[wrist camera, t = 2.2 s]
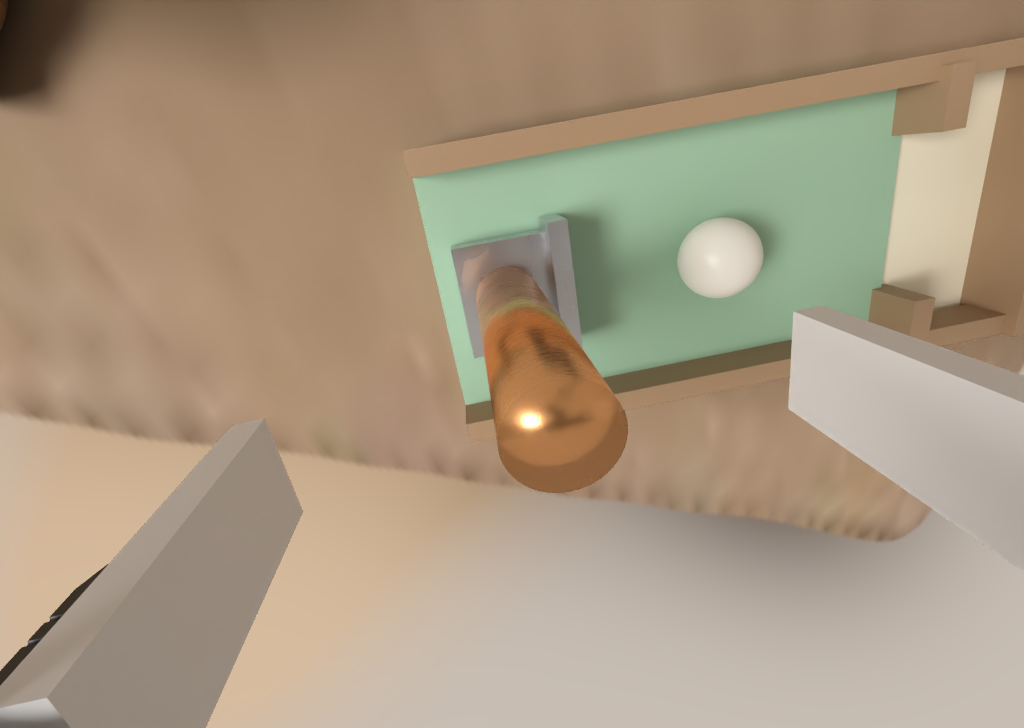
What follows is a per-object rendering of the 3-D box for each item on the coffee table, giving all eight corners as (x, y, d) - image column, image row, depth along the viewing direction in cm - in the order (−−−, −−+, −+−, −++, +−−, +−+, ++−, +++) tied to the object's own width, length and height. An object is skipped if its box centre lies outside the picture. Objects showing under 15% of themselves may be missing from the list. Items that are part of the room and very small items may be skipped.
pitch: (409, 153, 21) (400, 150, 18) (1013, 42, 22) (1115, 19, 19) (469, 411, 26) (470, 447, 23) (959, 312, 27) (1032, 333, 24)
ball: (663, 221, 22) (698, 230, 19) (736, 207, 22) (783, 214, 19) (666, 294, 24) (699, 314, 20) (735, 280, 24) (779, 298, 21)
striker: (448, 234, 21) (438, 323, 9) (555, 213, 21) (687, 274, 9) (475, 358, 24) (496, 563, 11) (571, 340, 24) (694, 521, 12)
